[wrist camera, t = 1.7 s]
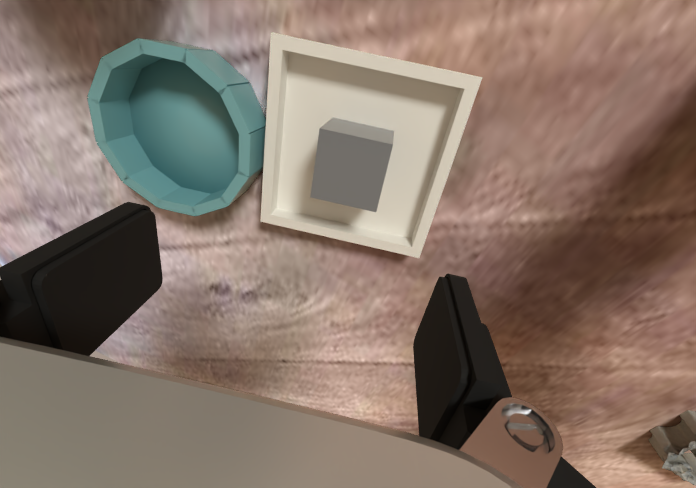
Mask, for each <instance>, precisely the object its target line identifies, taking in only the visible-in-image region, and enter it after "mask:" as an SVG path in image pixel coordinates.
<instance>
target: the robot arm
mask: <svg viewBox="0 0 696 488" xmlns="http://www.w3.org/2000/svg"><path fill="white" fill-rule="evenodd" d="M0 277H1V280H0V488H596V487H595V486H594V485H593V484H592V483H590V482H589V481H588V480H587V479H586V478H585V477H584V476H583V475H581V474H580V473H579V472H578V471H577V470H576V469H575V468H574V467H572V466H571V465H570V464H569V463H568V462H567V461H566V460H565V459H563V458H562V457H561V455H562V450H563V444H562V440H561V436H560V434H559V432H558V431H557V429H556V427H555V425H554V424H553V423H552V422H551V420H550V419H549V418H548V417H547V416H546V415H545V414H544V413H543V412H542V411H540V410H539V409H538V408H536V407H535V406H533V405H532V404H530V403H528V402H526V401H524V400H521V399H518V398H512V395H511V392H510V390H509V387H508V384H507V381H506V378H505V375H504V373H503V370H502V367H501V364H500V361H499V359H498V356H497V353H496V350H495V347H494V344H493V342H492V339H491V336H490V333H489V330H488V328H487V326H486V325H485V324H483V323H481V321H480V318H479V315H478V312H477V309H476V306H475V303H474V300H473V297H472V294H471V291H470V288H469V285H468V282H467V279H466V278H464V277H460V276H456V275H451V274H446V276H445V277H439V279H438V281H437V283H436V286H435V288H434V291H433V293H432V296H431V298H430V301H429V303H428V306H427V308H426V311H425V313H424V316H423V318H422V321H421V323H420V326H419V328H418V331H417V333H416V336H415V339H414V346H413V349H414V364H415V379H416V394H417V408H418V423H419V436H417V435H414V434H411V433H407V432H404V431H400V430H396V429H392V428H388V427H384V426H380V425H377V424H373V423H369V422H365V421H361V420H357V419H353V418H349V417H345V416H341V415H337V414H333V413H329V412H325V411H321V410H316V409H312V408H308V407H304V406H300V405H295V404H291V403H287V402H283V401H279V400H275V399H270V398H266V397H262V396H258V395H254V394H250V393H245V392H241V391H237V390H233V389H228V388H224V387H220V386H216V385H211V384H207V383H203V382H199V381H194V380H190V379H186V378H181V377H177V376H173V375H169V374H164V373H160V372H156V371H151V370H147V369H143V368H138V367H134V366H130V365H125V364H121V363H117V362H112V361H108V360H103V359H99V358H95V357H90V355H91V354H92V353H93V352H94V351H95V350H96V349H97V348H98V347H99V346H100V345H101V344H102V343H103V342H104V341H105V340H106V339H107V338H108V337H109V336H110V335H112V334H113V333H114V332H115V331H116V330H117V329H118V328H119V327H120V326H121V325H122V324H123V323H124V322H125V321H126V320H127V319H128V318H129V317H130V316H131V315H132V314H133V313H135V312H136V311H137V310H138V309H139V308H140V307H141V306H142V305H143V304H144V303H145V302H146V301H147V300H148V299H149V298H150V297H151V296H152V295H153V294H154V293H155V292H156V291H158V289H159V288H160V287H161V284H162V270H161V261H160V253H159V244H158V236H157V228H156V219H155V214H154V213H153V212H151V210H150V208H149V207H148V206H145V205H140V204H136V203H131V202H127V203H124V204H122V205H120V206H118V207H116V208H114V209H112V210H110V211H109V212H107V213H105V214H103V215H101V216H99V217H97V218H95V219H93V220H91V221H89V222H87V223H85V224H83V225H81V226H79V227H77V228H76V229H74V230H72V231H70V232H68V233H66V234H64V235H62V236H60V237H58V238H56V239H54V240H52V241H50V242H48V243H46V244H45V245H43V246H41V247H39V248H37V249H35V250H33V251H31V252H29V253H27V254H25V255H23V256H21V257H19V258H17V259H15V260H14V261H12V262H10V263H8V264H6V265H4V266H2V267H0Z"/></svg>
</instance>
